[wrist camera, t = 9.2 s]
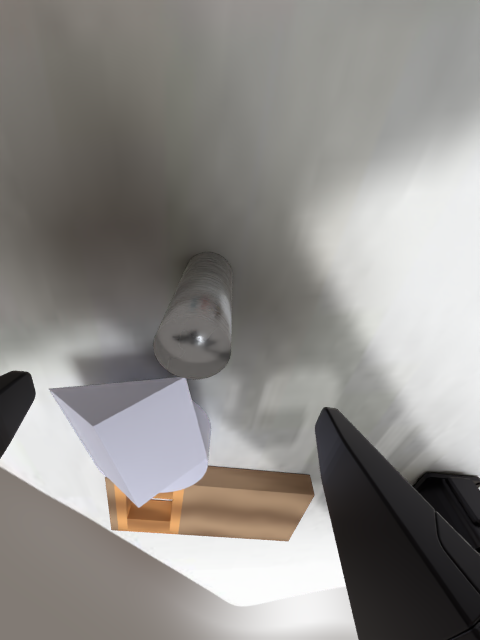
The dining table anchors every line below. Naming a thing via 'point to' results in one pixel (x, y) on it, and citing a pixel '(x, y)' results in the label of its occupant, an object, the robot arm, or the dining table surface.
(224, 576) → the dining table surface
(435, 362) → the dining table surface
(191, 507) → the brown flat rectangular block
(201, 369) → the metal peg
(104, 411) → the wedge on round base
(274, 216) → the dining table surface
